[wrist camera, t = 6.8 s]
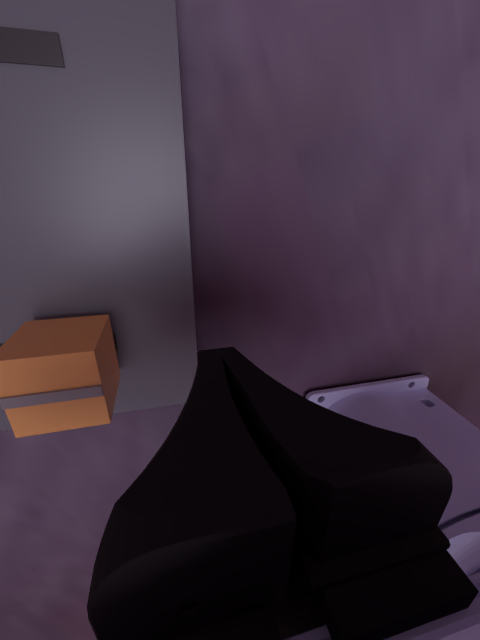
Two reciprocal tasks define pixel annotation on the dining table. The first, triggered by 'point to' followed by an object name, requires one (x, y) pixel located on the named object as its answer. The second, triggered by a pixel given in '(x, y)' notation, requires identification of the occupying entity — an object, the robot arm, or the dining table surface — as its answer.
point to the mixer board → (98, 184)
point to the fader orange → (59, 375)
